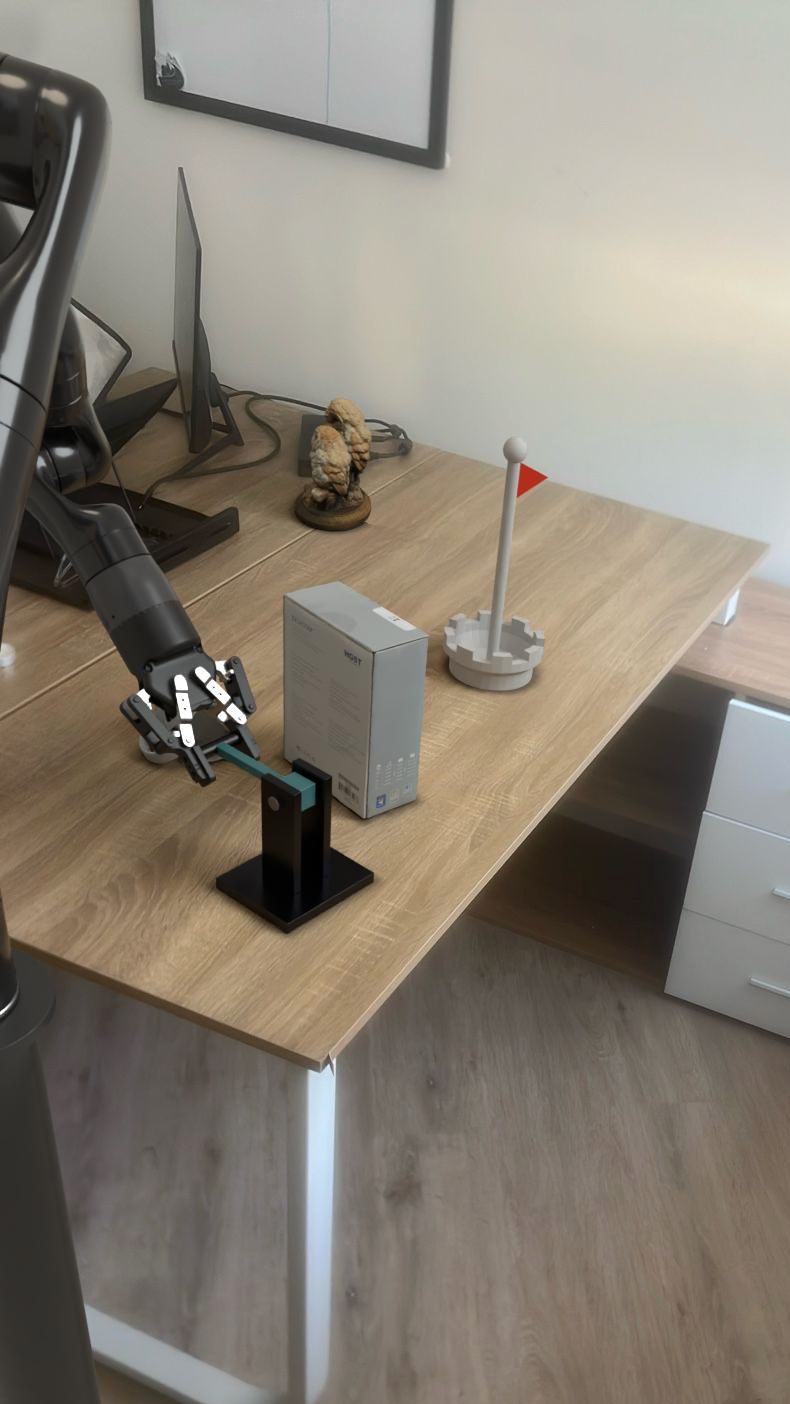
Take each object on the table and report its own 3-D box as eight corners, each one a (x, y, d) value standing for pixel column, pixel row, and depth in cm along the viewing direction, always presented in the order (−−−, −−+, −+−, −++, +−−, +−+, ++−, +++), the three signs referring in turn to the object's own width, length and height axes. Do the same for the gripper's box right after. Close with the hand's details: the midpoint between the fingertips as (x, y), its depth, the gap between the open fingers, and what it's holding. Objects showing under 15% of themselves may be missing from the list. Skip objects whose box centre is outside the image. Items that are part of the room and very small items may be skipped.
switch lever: (192, 762, 124) (191, 741, 123) (231, 745, 127) (230, 724, 126) (287, 818, 119) (287, 797, 117) (325, 799, 122) (326, 777, 121)
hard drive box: (419, 801, 142) (432, 636, 129) (364, 822, 137) (372, 653, 124) (334, 739, 149) (339, 577, 136) (279, 757, 145) (279, 592, 132)
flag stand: (473, 701, 160) (499, 461, 141) (423, 655, 168) (440, 422, 149) (558, 684, 167) (594, 453, 147) (506, 641, 174) (533, 415, 155)
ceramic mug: (209, 720, 149) (205, 660, 144) (247, 752, 144) (244, 692, 139) (126, 745, 143) (119, 684, 138) (162, 779, 139) (157, 717, 134)
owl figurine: (304, 484, 208) (305, 374, 197) (376, 493, 209) (381, 385, 198) (287, 526, 194) (287, 411, 183) (364, 536, 195) (369, 422, 184)
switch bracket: (215, 887, 125) (210, 777, 117) (303, 839, 133) (304, 733, 125) (287, 933, 121) (287, 823, 113) (373, 882, 129) (379, 774, 121)
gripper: (96, 620, 115) (192, 788, 118) (218, 580, 124) (304, 736, 127) (65, 652, 120) (157, 811, 123) (184, 611, 130) (267, 760, 133)
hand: (231, 772), depth 125 cm, fingers closed on switch lever, 5 cm apart
